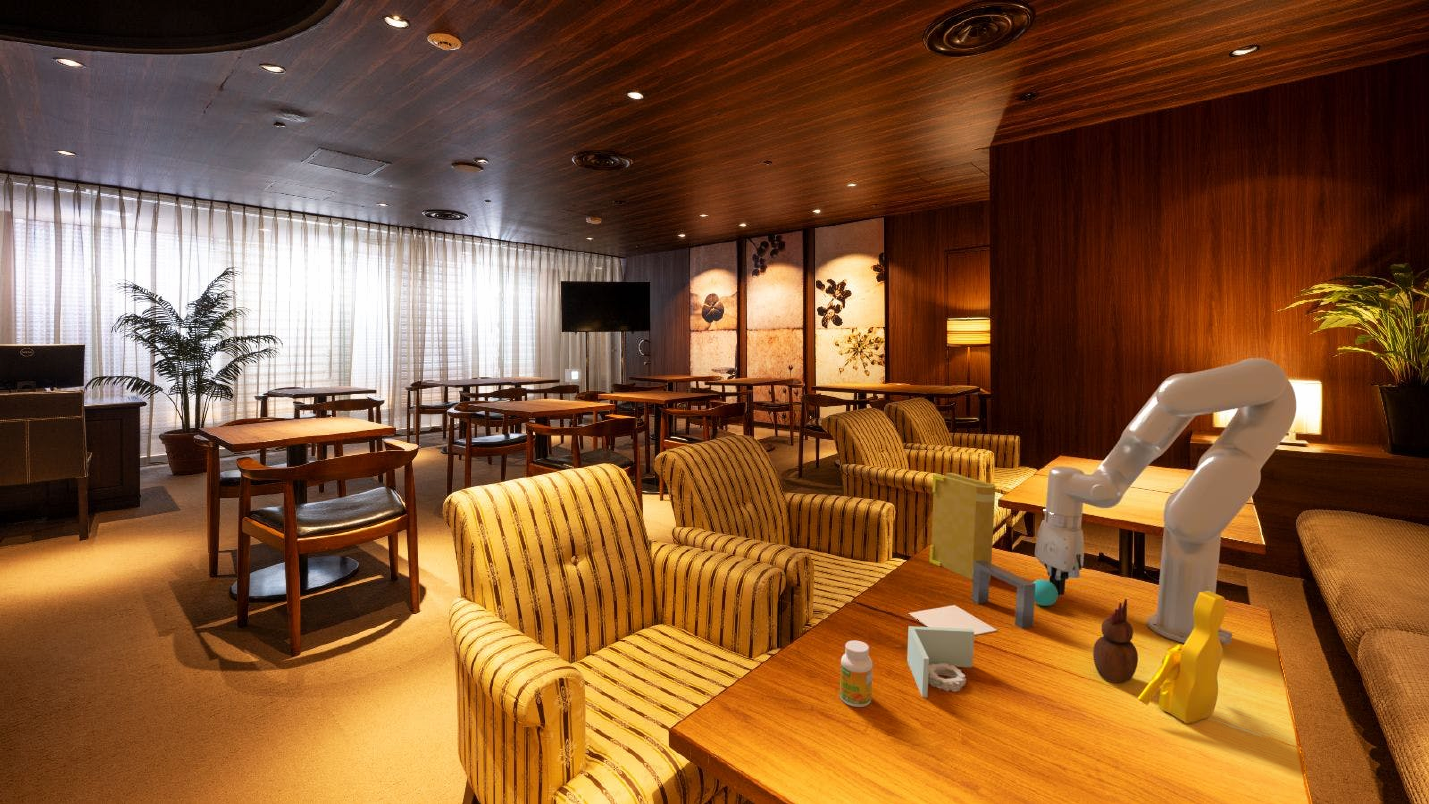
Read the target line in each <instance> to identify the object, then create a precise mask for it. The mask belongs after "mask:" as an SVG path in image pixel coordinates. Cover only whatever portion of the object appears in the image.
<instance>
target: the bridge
mask: <svg viewBox="0 0 1429 804" xmlns="http://www.w3.org/2000/svg"><path fill="white" fill-rule="evenodd" d="M990 575H991V577H992V576H993V577H995V578H997V579H998V580H1000V581H1002V582H1005V583H1007V584H1009V585H1011V586H1013V587H1015V588H1016V602H1015V603H1016V604H1015V615H1014V616H1015V618H1014V620H1015V621H1014V625H1015V626H1017V627H1019V628H1021V630H1023V629H1028V628H1032V627H1034V614H1035V602H1034V601H1035V585H1036V584H1035V583H1033V582H1032V581H1030V580H1027V579H1026V578H1024V577H1022V576H1019V575H1018V574H1015V573H1013V572H1010V571H1008V570H1006V569H1004V568H1002V567H999V566H998V565H995V564H993V563H992V562H991V563H989V562H987V561H985V560H982V561H975V562H974V570H973V580H972V593H971V596H972V597H971V601H972V602H974V604H978V605H980V604H981V605H982V604H985V603H989V596H990V595H989V593H990V581H989V577H990Z"/></svg>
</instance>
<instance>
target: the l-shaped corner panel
mask: <svg viewBox="0 0 1429 804" xmlns="http://www.w3.org/2000/svg"><path fill="white" fill-rule="evenodd" d="M907 628H908V631H907V632H908V633H907V635H908V636H907V652H906V653H907V655H906V656H907V658H906V659H907V660H906V661H907V664H908V667H909V670H910V672H911V671H912V672H911V674H912V676H913V678H914V682H915V683H916V686H917V688H918V690H919V693H920V696H921V697H922V698H928V688H929V684H930V686H932V687H935V688H938V690H941V689H943V691H945V692H950V691H951V690H952V691H951V692H953V693H956V692H961V689H962V687H964V686H966V682H967V678H966V674H964V673H962V670H961V669H958V668H959V667H960V668H973V666H974V662H973V661H974V649H975V648H974V647H975V643H974V642H975V635H974V631H973V629H957V628H935V627H927V626H914V625H913V626H910V625H908V627H907ZM955 666H957V667H955ZM944 674H945V675H944ZM946 675H947V676H946ZM941 676H946V677H948V678H943V677H941ZM950 677H952V678H950ZM939 688H941V689H939ZM949 690H950V691H949Z"/></svg>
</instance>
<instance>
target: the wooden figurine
mask: <svg viewBox="0 0 1429 804" xmlns="http://www.w3.org/2000/svg"><path fill="white" fill-rule="evenodd" d="M1127 601H1128V599H1127V598H1125V599H1124V602H1123V605H1122V602H1119V603H1118V607H1117V608H1115V609H1114V613H1111V616H1110V617H1106V618H1105V619H1104V620H1103V622H1102V624H1101V633H1102V635H1103V636H1100V637H1099V638H1098V639H1096V641H1095V643H1094V646H1093V653H1092V654H1093V655H1092V656H1093V662H1094V666H1095V669H1096V671H1097V673H1098V675H1099V676H1100V677H1101V678H1102V679H1104V680H1106V681H1108V682H1113V683H1126V682H1129V681H1130V680H1131V679H1132V678H1133V676H1134V675H1135V673H1136V670H1137V669H1138V662H1139V654H1138V651H1137V648H1136V646H1135V645H1134V643H1133V642H1132V640H1133V637H1134V629H1133V626H1132V625H1131V623H1130V622H1128V620H1127V618H1128V617H1127V615H1128V613H1127V612H1128V610H1127V609H1128V602H1127Z"/></svg>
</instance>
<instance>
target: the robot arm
mask: <svg viewBox="0 0 1429 804" xmlns="http://www.w3.org/2000/svg"><path fill="white" fill-rule="evenodd" d="M1295 393H1296V392H1295V390H1294V387H1293V385H1292V384H1291V382H1290V380H1289V378H1288V377H1287V374H1286V372H1285V371H1284V369H1283V368H1282V367H1281V366H1280V365H1279V364H1277V363H1275V362H1274V361H1272V360H1269V359H1268V358H1263V357H1250V358H1245V359H1243V360H1240V361H1238V362H1236V363H1232V364H1228V365H1224V366H1219V367H1214V368H1210V369H1205V370H1200V371H1196V372H1190V373H1175V374H1173V375H1171V376H1169V377H1167V378H1166V379H1165V380H1164V381H1162V383H1161V384H1159V386H1158V388H1157V389H1156V390H1155V392H1153V394H1152V395H1151V397H1150V398H1148V400H1147V402H1146V403H1145V404H1144V405H1143V406H1142V408H1141V409H1140V410H1139V411H1138V413H1136V415H1135V416H1134V418H1132V420H1131V421H1130V422H1129V423H1128V425H1127V426H1126V428H1125V429H1124V430H1123V431H1122V433H1121V436H1120V439H1119V440H1118V441H1117V443H1116V444H1115V445H1114V447H1113V449H1111V451H1110V452H1109V454H1108V455H1107V456H1106V457H1105V458H1104V459H1103V461H1102V462H1101V463H1100V465H1098V467H1097V468H1096V469H1095V471H1094V472H1093V473H1092V474H1087V473H1085V472H1084V471H1083V470H1081V469H1079V468H1075V467H1070V466H1054V467H1052V468H1051V469H1049V472H1048V477H1047V488H1046V491H1047V492H1046V502H1045V508H1044V509H1043V511H1042V512H1043V514H1044V519H1043V520H1041V523H1040V525H1039V527H1038V531H1037V535H1036V541H1035V549H1034V556H1035V559H1037V560H1038V562H1039V563H1040V564H1041V565H1043V566H1044V567H1045V569H1046V570H1047V571H1046V572H1047V573H1046V574H1047V576H1048V577H1049V579H1048V581H1049V582H1051V583H1052V584H1053V585H1054V586H1055V587H1056V589H1057V591H1058V596H1062V595H1064V594H1065V591H1066V590H1065V589H1066V580H1069V578H1072V579H1077V578H1080V577H1081V576H1080V571H1081V570H1082V569H1083V566H1084V557H1085V543H1084V540H1085V539H1084V531H1083V529H1082V519H1083V510H1084V509H1083V508H1084V504H1085V505H1088V506H1091V507H1095V508H1098V509H1099V508H1100V509H1109V508H1113V507H1115V506H1117V505H1118V504H1120V502H1121V501H1122V499H1123V497H1124V495H1125V493H1126V492H1127V491H1128V490H1129V488H1130V487H1131V486H1132V485H1133V483H1134V482H1135V481H1136V480H1137V479H1138V478H1139V476H1140V475H1141V474H1142V473H1143V472H1144V471H1145V470H1146V468H1147V467H1148V466H1149V465H1150V464H1151V463H1152V462H1153V461H1154V460H1156V459H1158V458H1159V457H1160V456H1162V455H1163V454H1164V453H1165V452H1166V451H1167V450H1168V449H1169V448H1170V447H1171V445H1172V444H1173V443H1174V442H1175V440H1176V439H1177V438H1178V437H1179V436H1180V435H1181V434H1182V432H1183V431H1184V430H1185V429H1186V428H1187V426H1188V425H1189V424H1190V423H1191V421H1193V420H1194V419H1195V417H1196V416H1201V415H1203V416H1204V415H1208V414H1209V415H1210V414H1214V413H1220V412H1227V411H1229V410H1230V411H1232V410H1236V412H1235V413H1234V415H1233V417H1232V418H1231V419H1230V421H1229V422H1228V424H1227V425H1226V427H1225V429H1223V431H1222V432H1221V434H1220V435H1219V436H1218V438H1217V439H1216V440H1215V441H1214V442H1213V443H1212V445H1211V446H1210V447H1209V448H1208V449H1207V450H1206V451H1205V452H1204V453H1203V454H1202V456H1200V458H1199V459H1198V463H1197V466H1196V468H1195V469H1194V470H1193V472H1192V474H1191V475H1189V477H1188V479H1187V480H1186V481H1185V482H1184V484H1183V485H1182V487H1180V488H1178V489H1176V490H1174V491H1173V492H1171V494H1170V495H1169V496H1168V498H1167V500H1166V502H1165V505H1164V510H1163V517H1162V518H1163V522H1164V523H1163V524H1164V525H1163V534H1162V535H1163V536H1162V547H1161V557H1160V558H1161V559H1160V569H1159V570H1160V571H1159V580H1158V581H1159V582H1158V583H1159V584H1158V595H1157V608H1156V614H1155V613H1154V614H1151V615H1149V616H1148V617H1147V619H1146V624H1147V626H1148V628H1150V630H1152V631H1153V632H1155V633H1156V634H1158V635H1159V636H1162V637H1164V638H1166V639H1170V640H1173V641H1175V642H1179V643H1182V644H1185V642H1186V641H1187V639H1188V638H1189V636H1190V634H1191V633H1192V631H1193V629H1194V617H1193V609H1194V605H1195V602H1196V600H1197V597H1198V595H1199V593H1200V592H1205V591H1210V592H1213V593H1215V594H1217V593H1216V592H1217V581H1218V580H1217V579H1218V572H1219V571H1218V570H1219V561H1220V553H1221V552H1220V550H1221V541H1222V540H1221V539H1222V533H1223V532H1224V531H1225V529H1226V528H1228V526H1229V525H1230V524H1231V522H1233V520H1234V519H1235V518H1236V516H1237V515H1238V514H1239V513H1240V512H1241V510H1242V509H1243V508H1244V507H1245V506H1246V505H1247V503H1248V502H1249V501H1250V499H1251V498H1252V497H1253V496H1254V494H1255V493H1256V491H1257V490H1258V488H1259V486H1260V483H1261V480H1262V478H1261V477H1262V476H1261V470H1262V468H1263V466H1264V465H1265V464H1266V462H1267V461H1268V460H1269V458H1270V457H1271V456H1272V455H1273V453H1274V452H1275V450H1276V449H1277V448H1278V447H1279V445H1280V444H1281V442H1283V439H1284V438H1285V437H1286V436H1287V434H1288V432H1289V431H1290V429H1291V427H1292V425H1293V423H1294V420H1295V419H1296V418H1295V417H1296V415H1297V398H1296V394H1295ZM1218 637H1219V640H1220V643H1221V644H1224V645H1225V646H1229V645H1230V644H1232V638H1233V633H1232V632H1231V631H1228V630H1226V629H1224V628H1223V629H1222V628H1221V627H1220V628H1219V630H1218Z"/></svg>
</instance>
